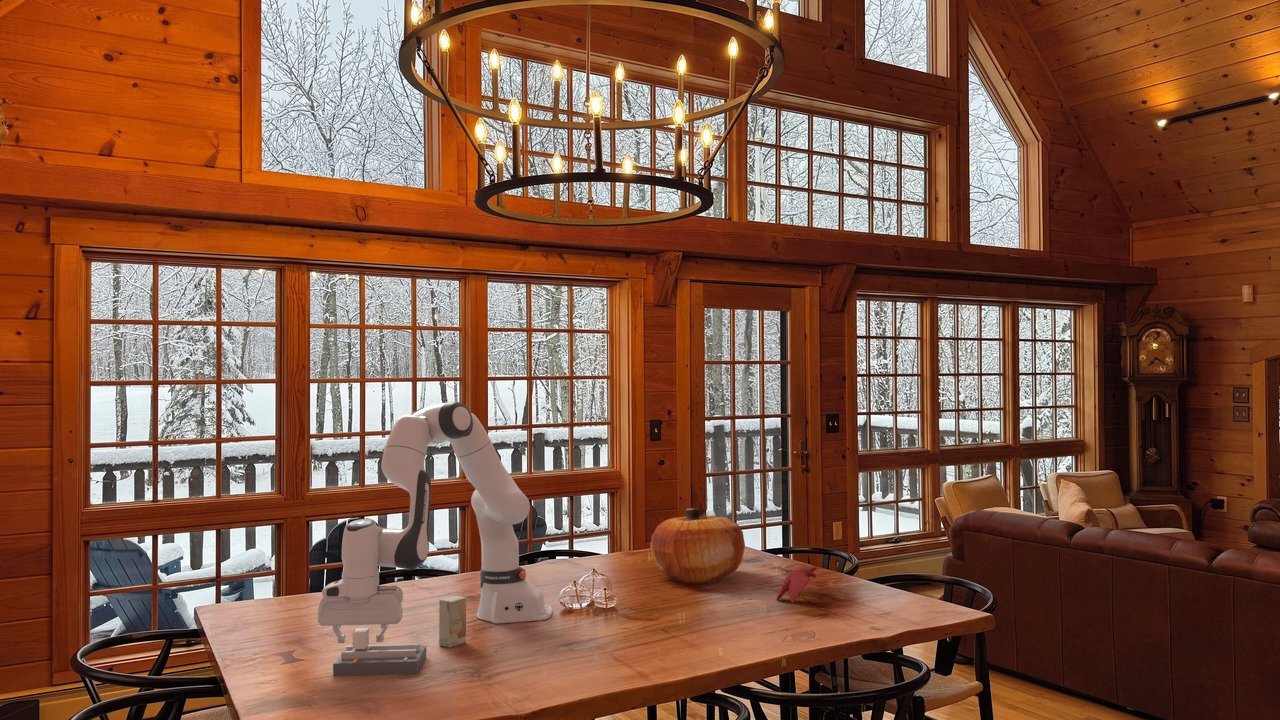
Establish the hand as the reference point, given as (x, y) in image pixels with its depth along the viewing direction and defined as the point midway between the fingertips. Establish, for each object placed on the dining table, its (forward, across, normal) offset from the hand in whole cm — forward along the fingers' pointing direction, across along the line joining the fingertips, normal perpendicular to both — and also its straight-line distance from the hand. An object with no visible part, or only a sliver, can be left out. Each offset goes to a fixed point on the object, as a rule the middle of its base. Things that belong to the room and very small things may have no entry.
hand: (360, 642), depth 215 cm
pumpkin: (+6, -95, -85) cm, 128 cm away
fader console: (+6, -5, 0) cm, 8 cm away
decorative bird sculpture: (+6, -122, -51) cm, 132 cm away
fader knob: (+3, 0, 0) cm, 3 cm away
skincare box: (+6, -20, -17) cm, 27 cm away
